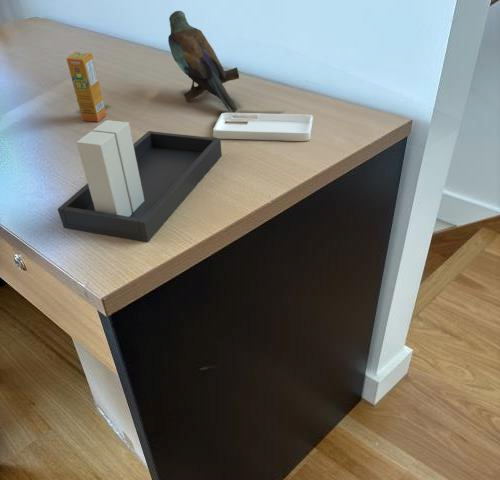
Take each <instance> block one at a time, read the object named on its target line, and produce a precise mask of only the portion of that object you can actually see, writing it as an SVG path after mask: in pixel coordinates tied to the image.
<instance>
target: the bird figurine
mask: <svg viewBox="0 0 500 480" xmlns="http://www.w3.org/2000/svg"><path fill="white" fill-rule="evenodd" d="M168 20H169V27H170V34H169V35H168V36H167V37H168V39H167V41H168V47H169V49H170V52H171V55H172V58H173V60H174V61H175V63H176V64H177V65H178V67H179V68H180V70H181V71H182V72H183V73H184V74H185V75H186V76H187V77H188V78H189V79H191V81H192V83H191V86H190V89H189V90H188V91H186V92H184V93H183V97H184V99H185V101H186V102H189V101H190V100H193V99H195V98H197V97H198V96H201V95H202V94H204V92H206V91H207V92H208V93H210V94H211V95H213V96H215V97H217V98H218V99H219V100H220V101H221V103H222V104H223V105H224V107H225V108H226V109H227V110H228V112H229V113H237V111H238V110H239V109H238V107H237V105H236V104H235V102H234V100H233V99H232V98H231V96H230V94H229V93H228V92H227V89H226V88H225V86H224V85H223V84H225V83H228V82H230V81H235V80H239V79H240V73H239V68H238V67H237V66H236V67H234V68H231V69H228V70H225V68H224V67H223V65H222V63H221V62H220V59H219V58H218V56H217V53H216V52H215V50H214V48H213V47H212V45H211V44H210V43H209V41H208V39H207V38H206V36H205V35H204V33H203V32H202V30H201V29H198V28H196V27H194V26H192V25H190V24H189V22H188V20H187V18H186V14H185V12H183V11H182V10H176V11H174V12H172V13H171V14H170V15H169V18H168ZM195 84H197V85H196V86H195Z"/></svg>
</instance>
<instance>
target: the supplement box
mask: <svg viewBox="0 0 500 480" xmlns="http://www.w3.org/2000/svg"><path fill="white" fill-rule="evenodd" d="M65 59H66V63H67V66H68V70H69V74H70V77H71V81H72V85H73V89H74V93H75V97H76V101H77V104H78V108H79V112H80V116H81V119H82V121H84V122H94V123H98V122H100V121H101V120H103V119H104V118H105V117H106V116H107V110H106V108H105V107H106V106H105V103H104V99H103V95H102V90H101V86H100V81H99V77H98V74H97V69H96V65H95V60H94V56H93V53H92V52H81V51H74V52H73V53H71V54H69V56H67V57H66V58H65Z"/></svg>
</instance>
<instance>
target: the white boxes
mask: <svg viewBox="0 0 500 480" xmlns="http://www.w3.org/2000/svg"><path fill="white" fill-rule="evenodd" d="M133 144H134V141H133V135H132V130H131V126H130V122H129V121H119V120H111V119H110V120H109V119H106V120H104V121H103V122H102V123H100V124H99V125H98V126H96V127H95V128H94V129H92V131H91V130H90V131H89V132H88V133H86V134H85V135H84V136H82V137H81V138H80V139H78V140H77V141H76V147H77V150H78V153H79V157H80V160H81V164H82V168H83V171H84V175H85V178H86V182H87V183H88V186H89V189H90V193H91V197H92V200H93V204H94V207H95V211H97V212H103V213H109V214H116V215H122V216H128V217H130V216H131V214H132V212H134V211H135V210H136V209H137V208H138V207H139V206H140V205H141V204H142V203H143V202H144V196H143V191H142V186H141V181H140V176H139V171H138V166H137V161H136V156H135V151H134V146H133Z"/></svg>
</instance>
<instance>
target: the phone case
mask: <svg viewBox="0 0 500 480" xmlns="http://www.w3.org/2000/svg"><path fill="white" fill-rule="evenodd" d="M242 117H244V118H242ZM245 117H246V118H245ZM247 117H257V118H247ZM313 122H314V116H313V115H312V114H301V113H300V114H299V113H298V114H297V113H262V112H261V113H260V112H259V113H258V112H257V113H256V112H255V113H254V112H235V113H231V112H222V113H221V114H220V115H219V117H218V119H217V121H216V123H215V124H214V127H213V128H212V132H213V138H218V139H220V140H221V139H223V140H225V139H227V140H255V141H256V140H258V141H285V142H286V141H289V142H308V141H310V139H311V133H312V129H313ZM233 123H235V124H233ZM236 123H237V124H236ZM239 123H246V124H239Z"/></svg>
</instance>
